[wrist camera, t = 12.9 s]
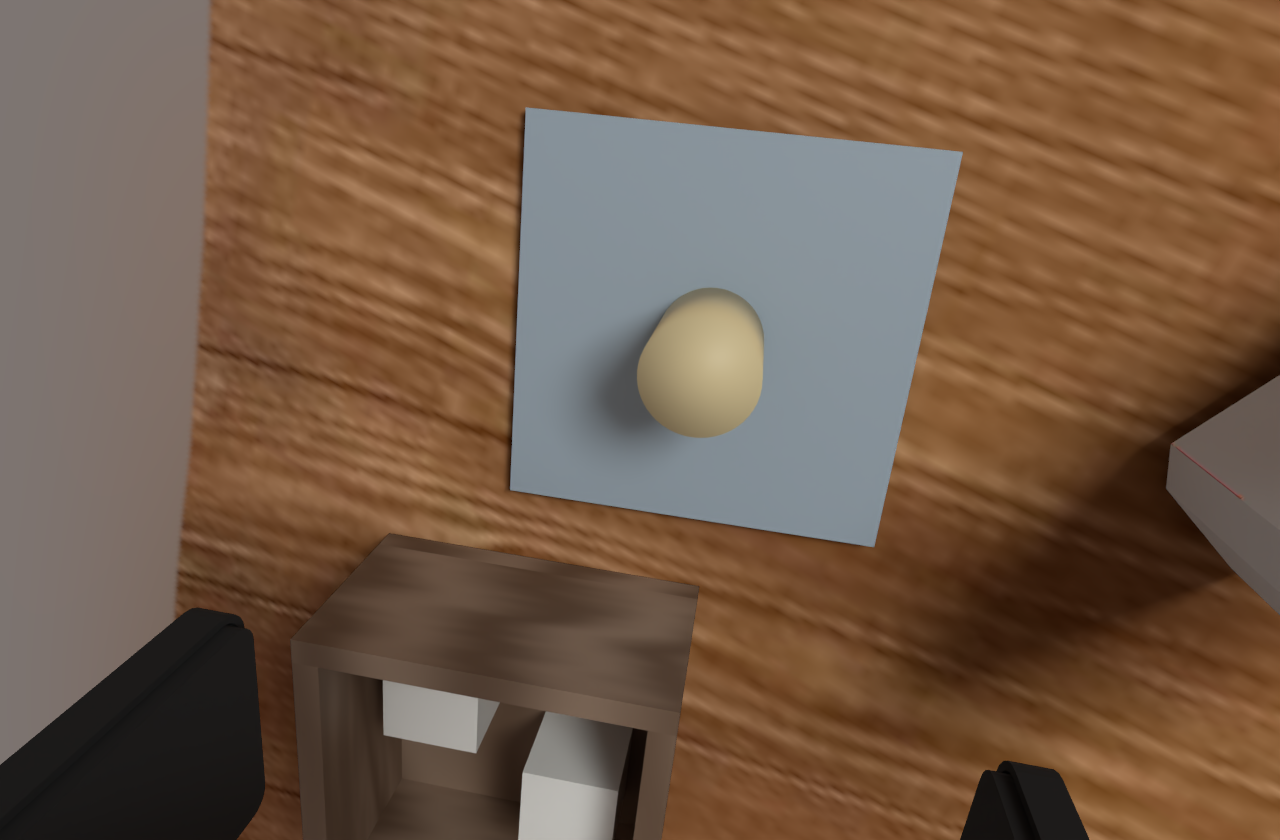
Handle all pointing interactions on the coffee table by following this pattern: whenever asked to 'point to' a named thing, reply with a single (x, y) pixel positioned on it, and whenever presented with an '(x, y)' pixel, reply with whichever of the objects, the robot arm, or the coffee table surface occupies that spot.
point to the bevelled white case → (1236, 486)
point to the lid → (720, 318)
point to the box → (480, 686)
